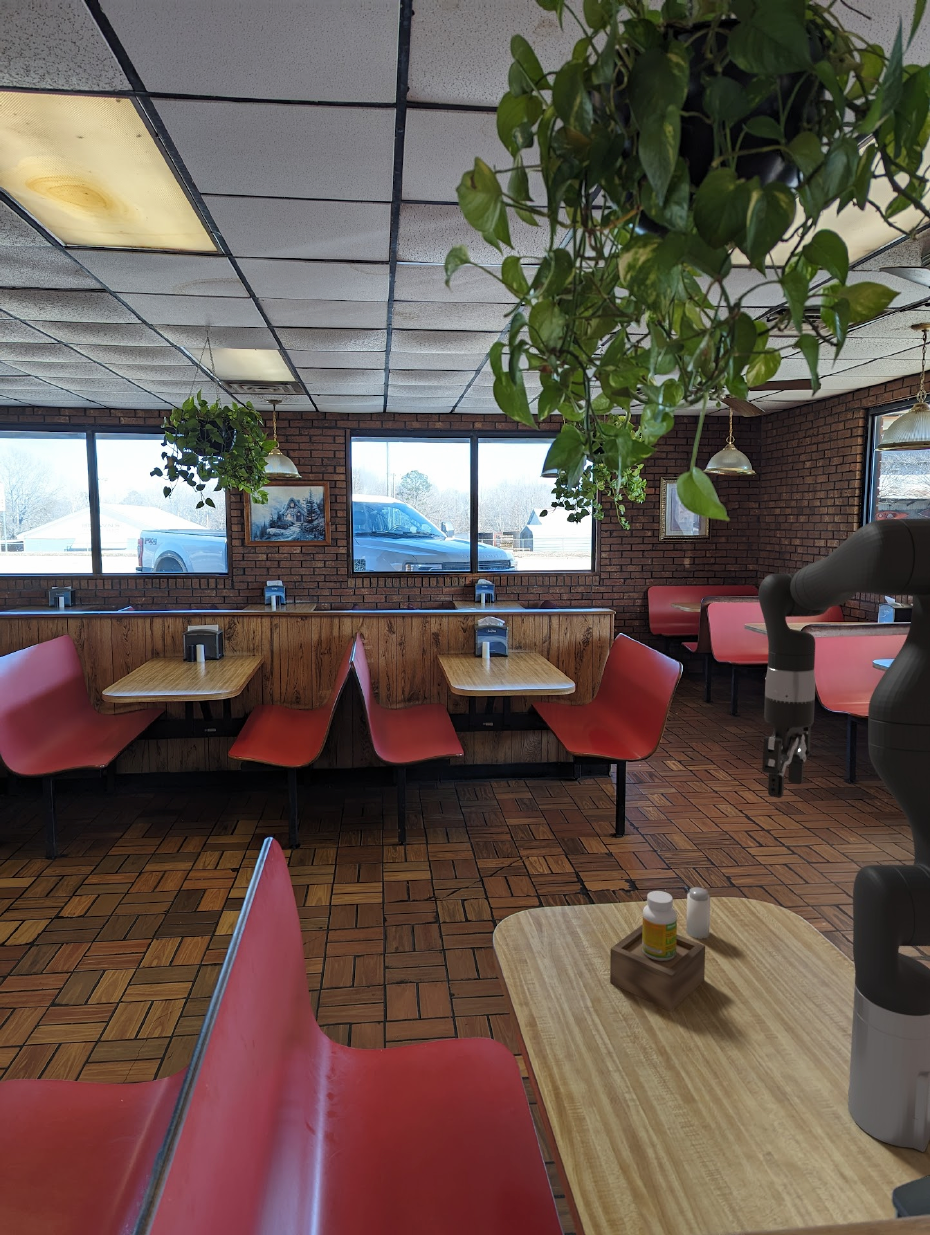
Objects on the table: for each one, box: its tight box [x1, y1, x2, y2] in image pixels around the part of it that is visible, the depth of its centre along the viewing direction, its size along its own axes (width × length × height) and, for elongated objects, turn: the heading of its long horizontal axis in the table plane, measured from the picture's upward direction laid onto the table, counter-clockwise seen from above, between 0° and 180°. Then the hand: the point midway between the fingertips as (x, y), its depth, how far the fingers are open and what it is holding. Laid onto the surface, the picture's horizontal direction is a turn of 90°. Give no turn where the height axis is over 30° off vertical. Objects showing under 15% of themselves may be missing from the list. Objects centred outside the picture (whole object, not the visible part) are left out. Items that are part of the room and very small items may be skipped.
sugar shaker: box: [686, 886, 711, 940], centre depth 139 cm, size 4×4×8 cm
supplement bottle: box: [642, 890, 678, 961], centre depth 124 cm, size 5×5×10 cm
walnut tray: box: [609, 923, 706, 1013], centre depth 125 cm, size 11×11×6 cm
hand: (785, 789), depth 127 cm, fingers open, 8 cm apart
